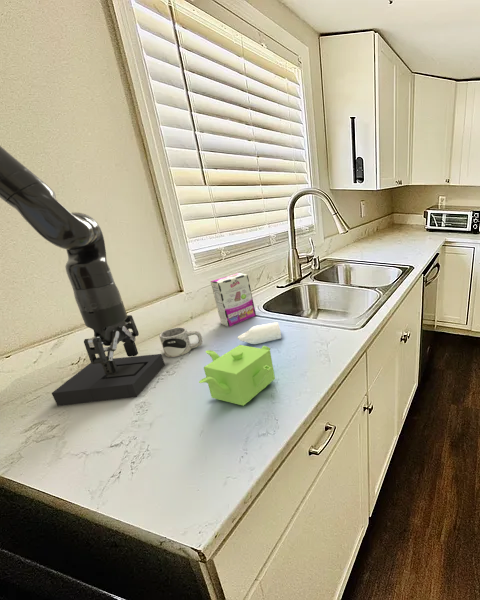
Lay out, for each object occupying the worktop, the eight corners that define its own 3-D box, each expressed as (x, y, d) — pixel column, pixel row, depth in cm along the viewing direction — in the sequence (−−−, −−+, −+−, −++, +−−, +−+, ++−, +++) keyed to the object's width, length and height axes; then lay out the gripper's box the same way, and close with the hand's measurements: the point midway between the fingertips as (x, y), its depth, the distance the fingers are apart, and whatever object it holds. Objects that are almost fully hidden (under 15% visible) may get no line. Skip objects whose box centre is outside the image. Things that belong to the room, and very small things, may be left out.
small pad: (110, 391, 79) (105, 377, 78) (122, 379, 84) (117, 366, 82) (138, 388, 80) (133, 374, 79) (148, 376, 85) (144, 363, 83)
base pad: (58, 407, 74) (51, 393, 72) (98, 373, 86) (93, 360, 85) (137, 398, 76) (132, 384, 75) (165, 366, 89) (161, 353, 88)
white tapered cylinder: (238, 343, 101) (234, 327, 99) (278, 334, 107) (275, 318, 105) (240, 351, 96) (236, 334, 94) (282, 341, 102) (279, 325, 100)
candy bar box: (248, 313, 123) (239, 272, 117) (256, 316, 120) (248, 273, 114) (220, 325, 114) (209, 280, 108) (228, 328, 111) (218, 282, 105)
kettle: (209, 422, 69) (197, 377, 65) (209, 386, 80) (199, 347, 76) (283, 399, 75) (275, 357, 71) (273, 370, 87) (266, 332, 83)
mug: (163, 360, 92) (156, 339, 90) (167, 349, 98) (161, 329, 95) (203, 352, 96) (198, 332, 94) (205, 342, 102) (200, 323, 99)
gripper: (102, 294, 80) (123, 351, 86) (57, 317, 67) (85, 383, 73) (136, 291, 81) (154, 348, 87) (99, 314, 68) (123, 379, 74)
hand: (123, 364), depth 80 cm, fingers open, 8 cm apart
